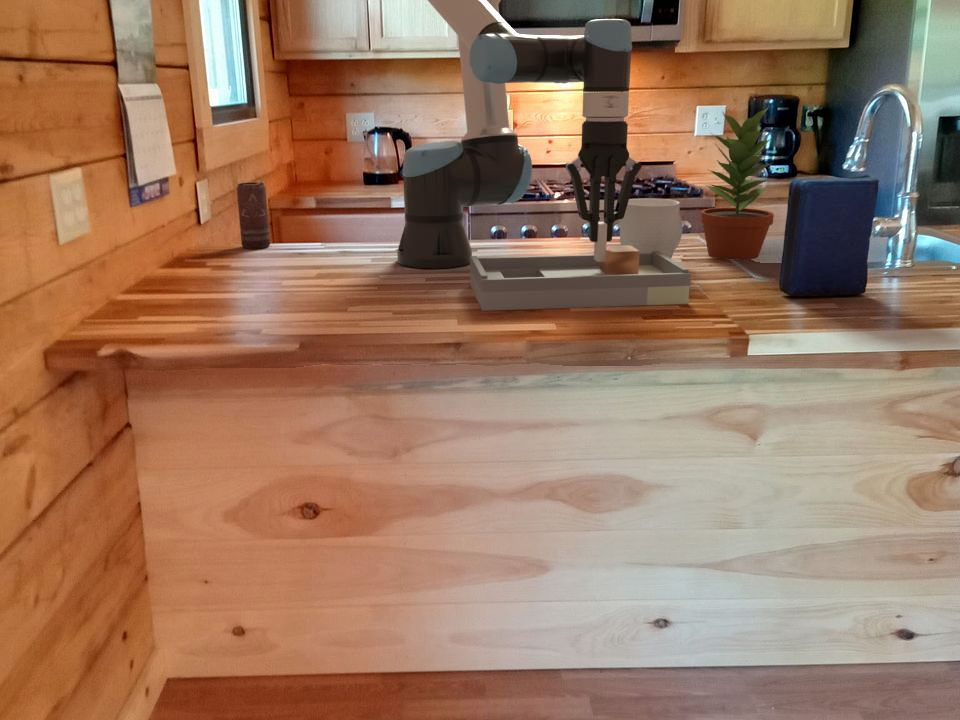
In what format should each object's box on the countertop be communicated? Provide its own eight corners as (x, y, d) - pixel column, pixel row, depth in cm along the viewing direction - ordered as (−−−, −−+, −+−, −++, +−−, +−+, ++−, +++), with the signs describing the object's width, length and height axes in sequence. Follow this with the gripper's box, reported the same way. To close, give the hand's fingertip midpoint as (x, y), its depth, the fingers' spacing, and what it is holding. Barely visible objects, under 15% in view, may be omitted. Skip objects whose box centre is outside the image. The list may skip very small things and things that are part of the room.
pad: (646, 305, 138) (647, 287, 137) (617, 280, 155) (617, 264, 154) (688, 303, 139) (689, 285, 138) (654, 279, 156) (655, 263, 155)
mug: (655, 259, 174) (659, 194, 170) (700, 267, 166) (705, 200, 162) (605, 269, 165) (608, 201, 161) (650, 278, 157) (654, 207, 153)
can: (277, 246, 190) (271, 182, 186) (255, 250, 185) (250, 185, 181) (257, 243, 193) (252, 181, 189) (236, 247, 188) (230, 183, 184)
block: (607, 274, 146) (608, 251, 145) (599, 268, 151) (600, 246, 150) (638, 274, 147) (639, 251, 145) (629, 267, 152) (630, 245, 151)
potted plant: (681, 251, 182) (691, 105, 172) (740, 246, 187) (753, 104, 177) (723, 264, 168) (736, 107, 159) (785, 259, 173) (802, 105, 164)
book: (854, 290, 147) (869, 173, 141) (870, 298, 142) (888, 176, 136) (774, 293, 145) (787, 174, 139) (788, 301, 140) (802, 178, 134)
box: (482, 310, 135) (481, 276, 134) (470, 285, 152) (470, 255, 151) (688, 303, 139) (690, 270, 137) (654, 279, 156) (656, 250, 154)
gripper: (571, 120, 137) (567, 265, 144) (649, 120, 138) (642, 263, 145) (561, 119, 144) (558, 257, 151) (636, 118, 145) (630, 255, 152)
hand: (599, 260), depth 148 cm, fingers closed
